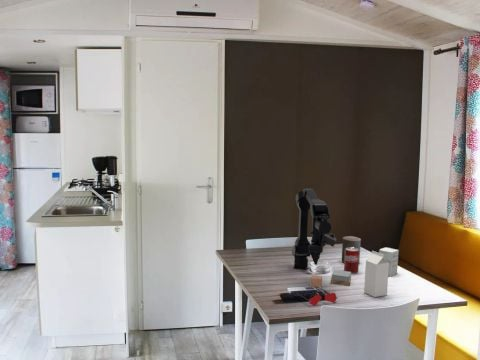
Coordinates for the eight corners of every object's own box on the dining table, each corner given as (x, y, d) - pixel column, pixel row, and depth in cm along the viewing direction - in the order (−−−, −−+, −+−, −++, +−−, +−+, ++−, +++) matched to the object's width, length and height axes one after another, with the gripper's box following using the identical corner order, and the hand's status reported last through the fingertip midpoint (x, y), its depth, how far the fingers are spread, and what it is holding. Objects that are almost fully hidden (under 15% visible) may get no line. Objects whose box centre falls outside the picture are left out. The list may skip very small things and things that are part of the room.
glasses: (309, 308, 207) (310, 296, 206) (290, 294, 222) (290, 284, 221) (337, 303, 212) (338, 292, 211) (317, 291, 227) (317, 280, 226)
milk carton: (374, 297, 219) (377, 255, 217) (363, 292, 225) (366, 251, 223) (387, 295, 222) (389, 253, 220) (375, 290, 228) (378, 249, 226)
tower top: (331, 279, 236) (332, 274, 236) (333, 274, 244) (334, 269, 244) (348, 281, 234) (349, 276, 234) (350, 276, 242) (350, 271, 241)
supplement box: (377, 273, 254) (378, 249, 252) (384, 270, 259) (385, 246, 257) (390, 276, 249) (392, 252, 247) (397, 273, 254) (399, 249, 252)
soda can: (358, 274, 251) (359, 251, 250) (343, 273, 253) (344, 250, 251) (358, 270, 258) (359, 247, 257) (343, 269, 260) (344, 246, 258)
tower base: (330, 285, 236) (330, 280, 236) (332, 279, 245) (332, 274, 244) (349, 287, 234) (350, 282, 234) (350, 281, 243) (351, 276, 242)
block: (310, 286, 233) (310, 278, 232) (311, 283, 237) (311, 274, 237) (320, 287, 231) (321, 279, 231) (321, 284, 236) (322, 275, 236)
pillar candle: (339, 264, 269) (341, 236, 267) (343, 259, 278) (344, 233, 276) (358, 266, 266) (359, 239, 264) (360, 261, 275) (362, 235, 273)
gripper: (334, 234, 220) (332, 269, 222) (337, 226, 238) (335, 258, 240) (309, 232, 223) (307, 266, 225) (313, 224, 241) (312, 256, 243)
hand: (316, 261), depth 233 cm, fingers open, 9 cm apart
